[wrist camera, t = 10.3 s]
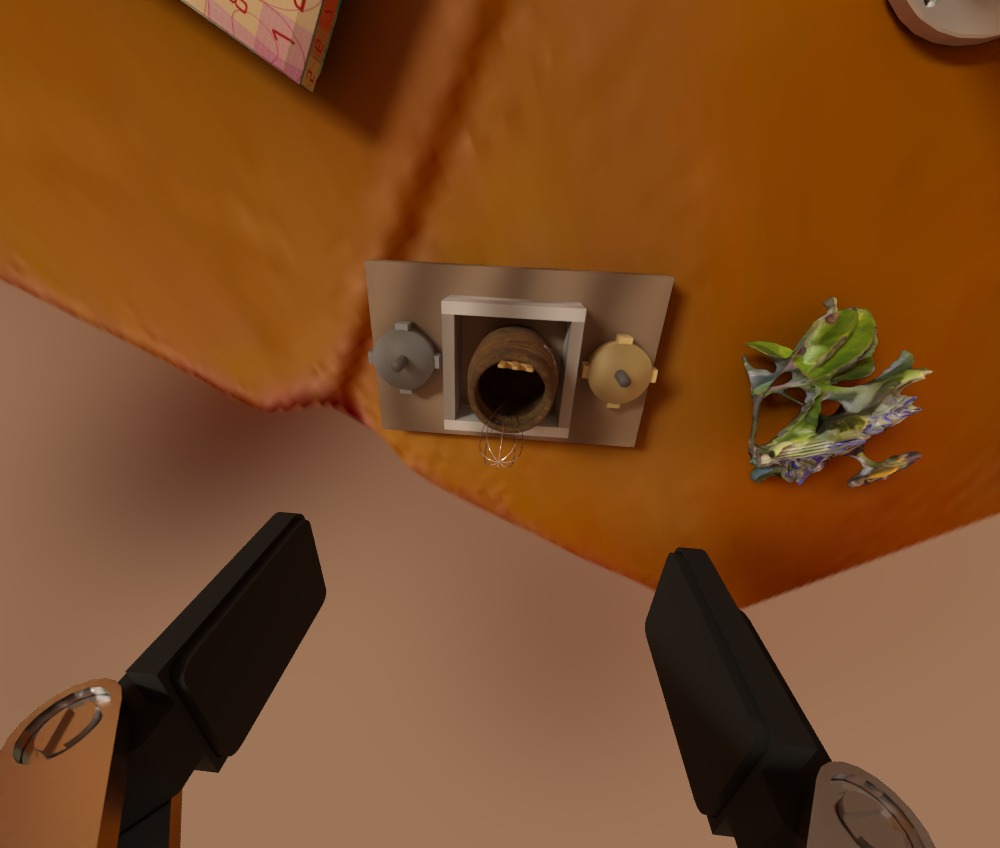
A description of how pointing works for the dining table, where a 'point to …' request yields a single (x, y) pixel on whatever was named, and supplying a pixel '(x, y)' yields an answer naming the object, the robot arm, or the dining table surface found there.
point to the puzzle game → (278, 31)
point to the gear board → (522, 301)
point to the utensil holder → (512, 381)
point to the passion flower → (863, 411)
